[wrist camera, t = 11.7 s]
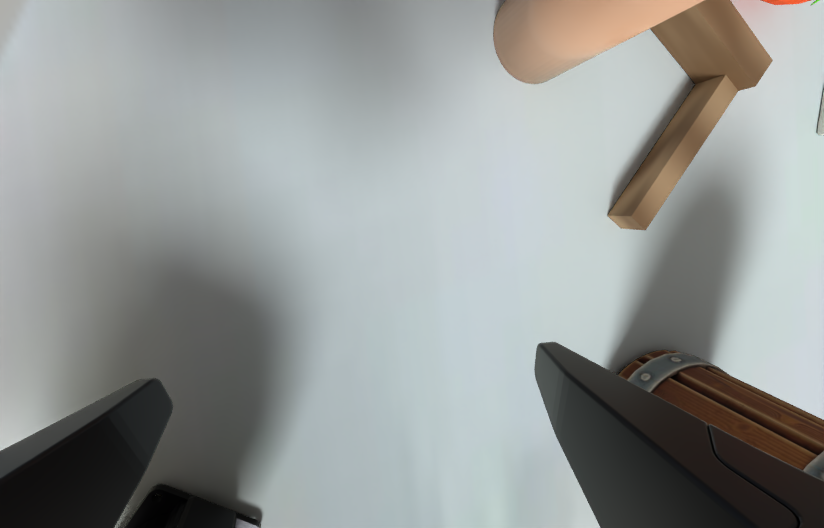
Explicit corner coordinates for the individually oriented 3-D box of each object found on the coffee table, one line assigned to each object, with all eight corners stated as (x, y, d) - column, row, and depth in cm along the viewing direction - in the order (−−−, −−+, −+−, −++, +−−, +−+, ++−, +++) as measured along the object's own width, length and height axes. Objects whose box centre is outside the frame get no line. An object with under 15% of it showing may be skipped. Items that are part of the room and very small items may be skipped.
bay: (621, 228, 27) (659, 231, 24) (299, -71, 19) (298, -120, 16) (723, 75, 27) (772, 60, 24) (448, -278, 19) (473, -361, 16)
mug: (589, 361, 28) (895, 530, 13) (703, 333, 30) (1064, 449, 16) (593, 547, 30) (850, 852, 16) (698, 507, 33) (1000, 739, 19)
